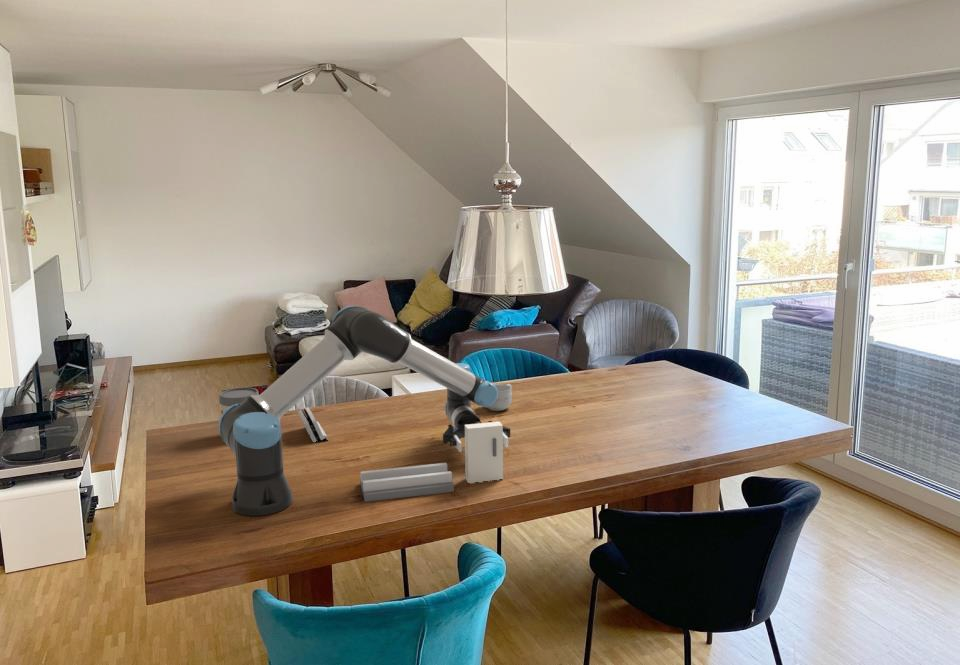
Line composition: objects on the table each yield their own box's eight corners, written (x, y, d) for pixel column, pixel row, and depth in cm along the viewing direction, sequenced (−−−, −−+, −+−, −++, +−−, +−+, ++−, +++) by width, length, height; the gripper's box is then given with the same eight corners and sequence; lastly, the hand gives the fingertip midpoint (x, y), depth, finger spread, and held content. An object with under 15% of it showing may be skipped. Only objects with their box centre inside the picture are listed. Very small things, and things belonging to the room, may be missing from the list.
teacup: (495, 415, 271) (495, 393, 270) (476, 408, 279) (475, 387, 278) (524, 407, 280) (524, 386, 278) (504, 400, 288) (504, 380, 286)
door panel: (469, 484, 212) (468, 429, 208) (465, 478, 216) (464, 424, 212) (503, 480, 214) (503, 426, 211) (499, 475, 218) (499, 421, 215)
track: (364, 501, 202) (364, 485, 201) (360, 484, 213) (359, 468, 212) (453, 491, 207) (453, 476, 206) (444, 474, 219) (444, 460, 218)
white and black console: (329, 441, 247) (317, 414, 244) (315, 447, 246) (303, 421, 243) (319, 425, 262) (308, 400, 259) (307, 431, 261) (295, 406, 258)
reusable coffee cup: (221, 444, 245) (218, 399, 242) (223, 432, 257) (219, 389, 254) (262, 440, 249) (259, 396, 246) (261, 428, 260) (258, 385, 257)
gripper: (505, 429, 240) (526, 453, 219) (426, 437, 234) (440, 462, 213) (505, 406, 238) (526, 428, 218) (425, 413, 232) (440, 436, 212)
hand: (483, 444), depth 216 cm, fingers open, 13 cm apart
